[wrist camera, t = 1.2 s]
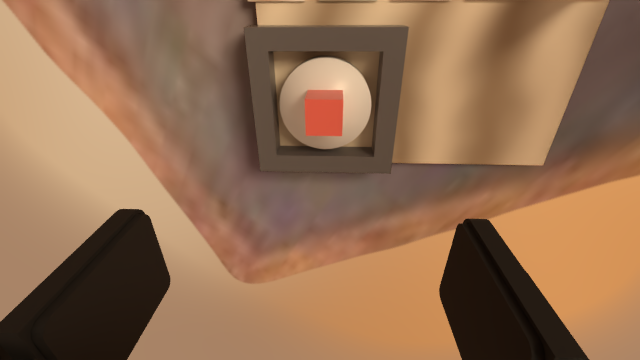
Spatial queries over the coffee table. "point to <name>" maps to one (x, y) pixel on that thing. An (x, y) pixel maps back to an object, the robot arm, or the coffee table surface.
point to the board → (460, 71)
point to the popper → (325, 102)
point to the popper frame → (325, 39)
